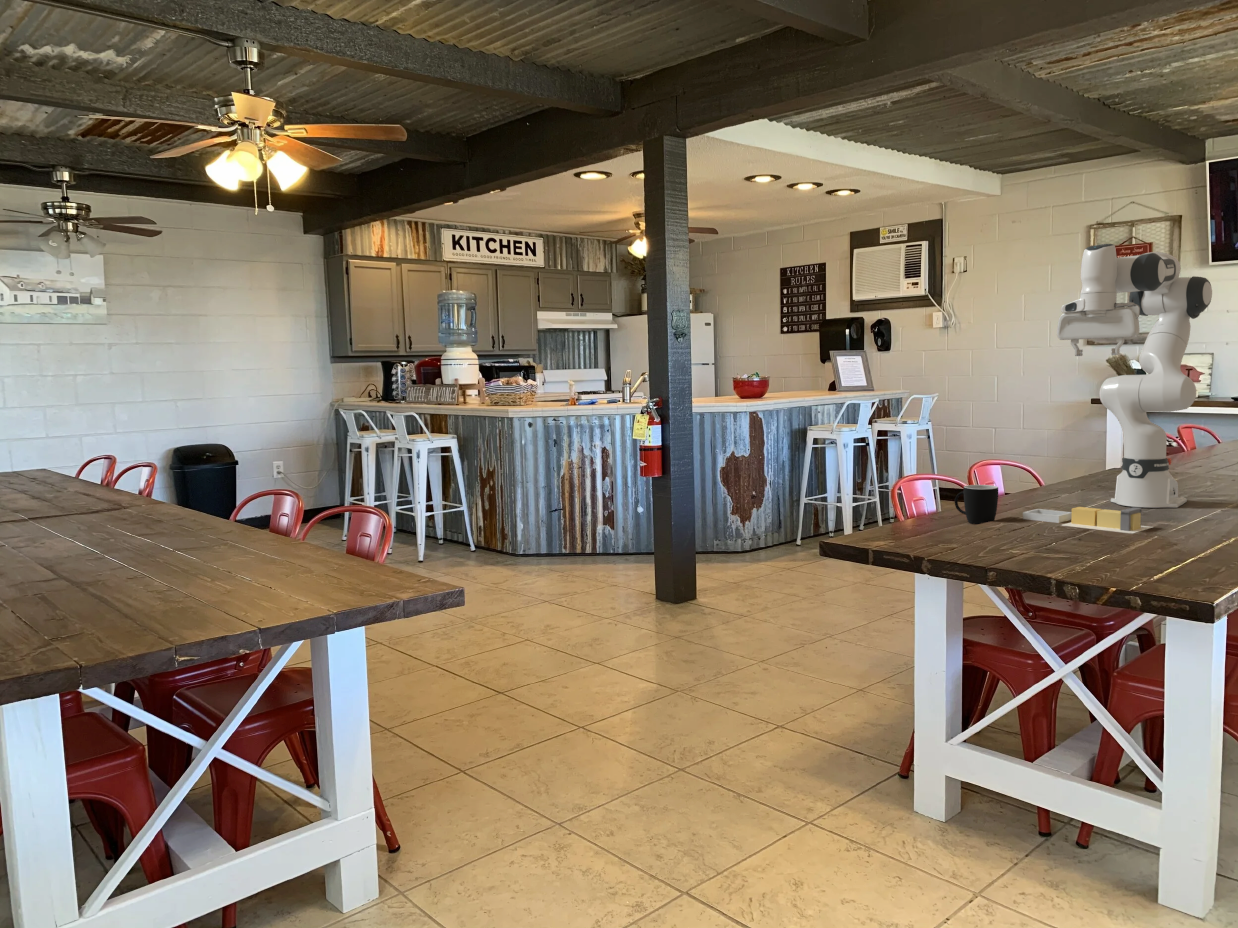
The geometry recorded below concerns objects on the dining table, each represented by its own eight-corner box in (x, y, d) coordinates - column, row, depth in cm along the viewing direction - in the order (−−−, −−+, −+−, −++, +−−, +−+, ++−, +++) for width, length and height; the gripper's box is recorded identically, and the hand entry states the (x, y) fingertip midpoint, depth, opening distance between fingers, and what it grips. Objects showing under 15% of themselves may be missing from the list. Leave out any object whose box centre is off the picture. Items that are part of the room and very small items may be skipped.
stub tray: (1037, 519, 257) (1037, 508, 257) (1073, 523, 249) (1073, 512, 249) (1022, 522, 252) (1022, 512, 252) (1058, 527, 245) (1058, 516, 244)
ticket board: (1082, 523, 248) (1082, 501, 248) (1153, 531, 234) (1154, 507, 234) (1060, 529, 241) (1060, 506, 241) (1132, 538, 227) (1132, 513, 226)
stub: (1078, 521, 245) (1078, 506, 245) (1101, 524, 240) (1102, 509, 240) (1071, 523, 243) (1071, 508, 242) (1094, 526, 238) (1094, 510, 238)
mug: (1003, 522, 255) (1003, 486, 254) (989, 526, 249) (989, 489, 248) (962, 518, 264) (962, 483, 262) (947, 522, 257) (947, 486, 256)
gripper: (1143, 302, 244) (1142, 354, 245) (1064, 307, 259) (1063, 356, 260) (1136, 301, 240) (1134, 354, 241) (1055, 306, 255) (1054, 356, 256)
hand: (1096, 355), depth 251 cm, fingers open, 8 cm apart
